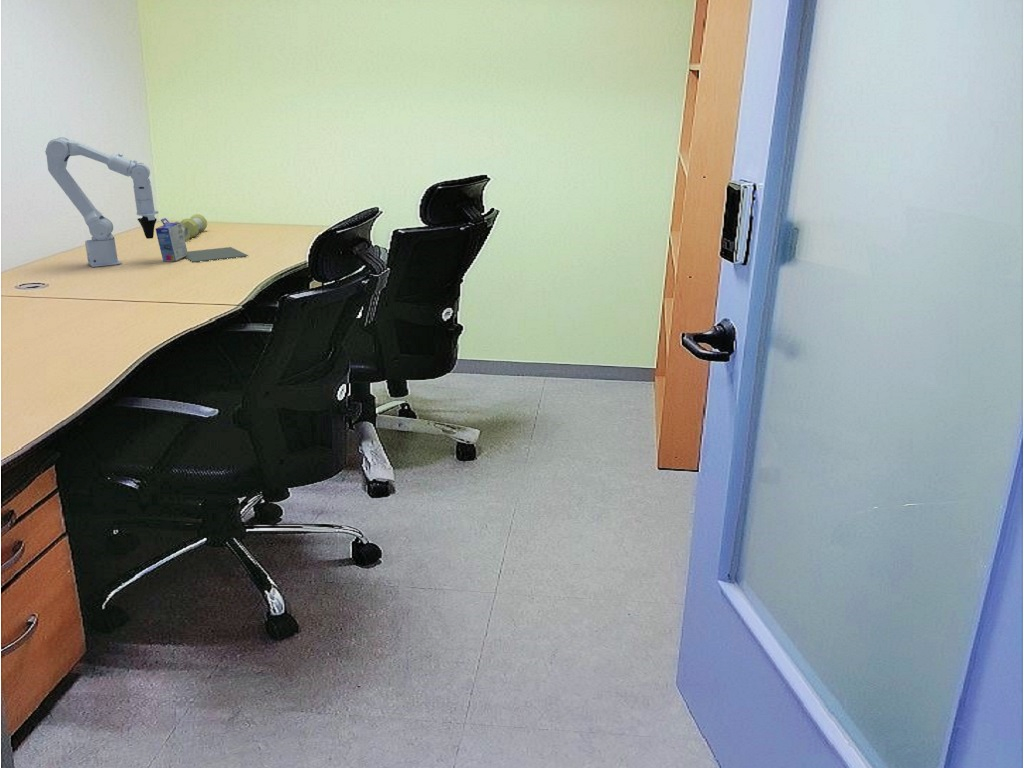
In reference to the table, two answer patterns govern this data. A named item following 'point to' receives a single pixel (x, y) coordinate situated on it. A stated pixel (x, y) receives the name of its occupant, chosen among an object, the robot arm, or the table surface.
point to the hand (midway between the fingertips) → (149, 238)
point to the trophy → (193, 226)
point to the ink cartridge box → (171, 241)
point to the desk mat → (214, 254)
